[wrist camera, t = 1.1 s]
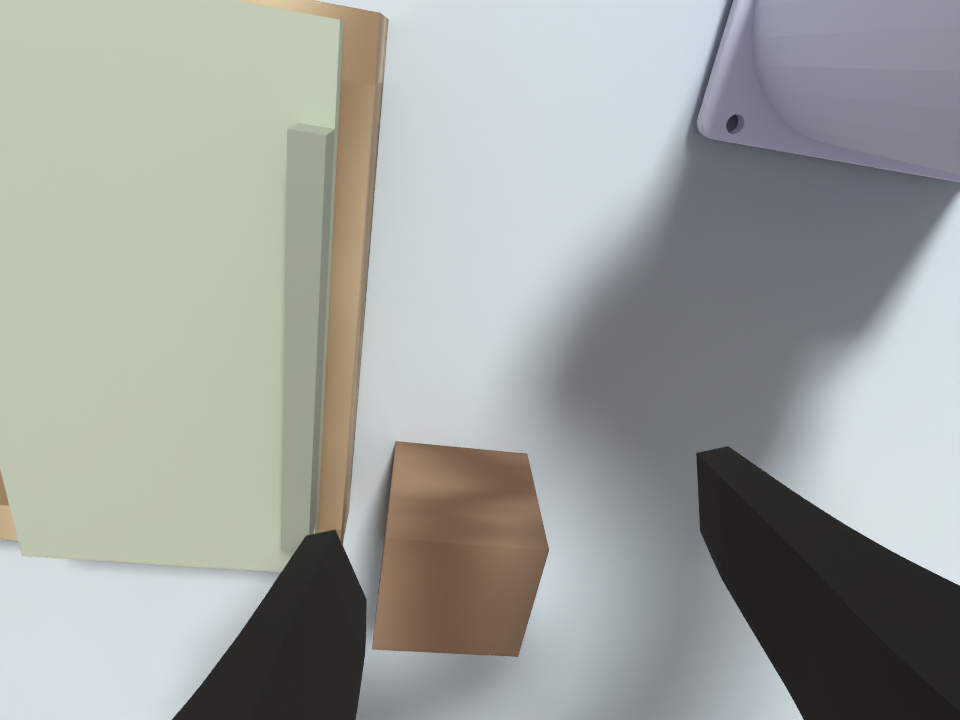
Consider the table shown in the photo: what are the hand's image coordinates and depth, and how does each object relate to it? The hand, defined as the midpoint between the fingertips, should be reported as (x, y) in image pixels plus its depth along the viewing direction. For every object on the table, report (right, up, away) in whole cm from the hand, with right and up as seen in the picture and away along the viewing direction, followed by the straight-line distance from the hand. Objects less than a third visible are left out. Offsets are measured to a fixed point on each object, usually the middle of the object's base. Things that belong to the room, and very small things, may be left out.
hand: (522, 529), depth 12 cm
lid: (-10, +4, +4) cm, 11 cm away
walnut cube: (-2, -2, +12) cm, 12 cm away
